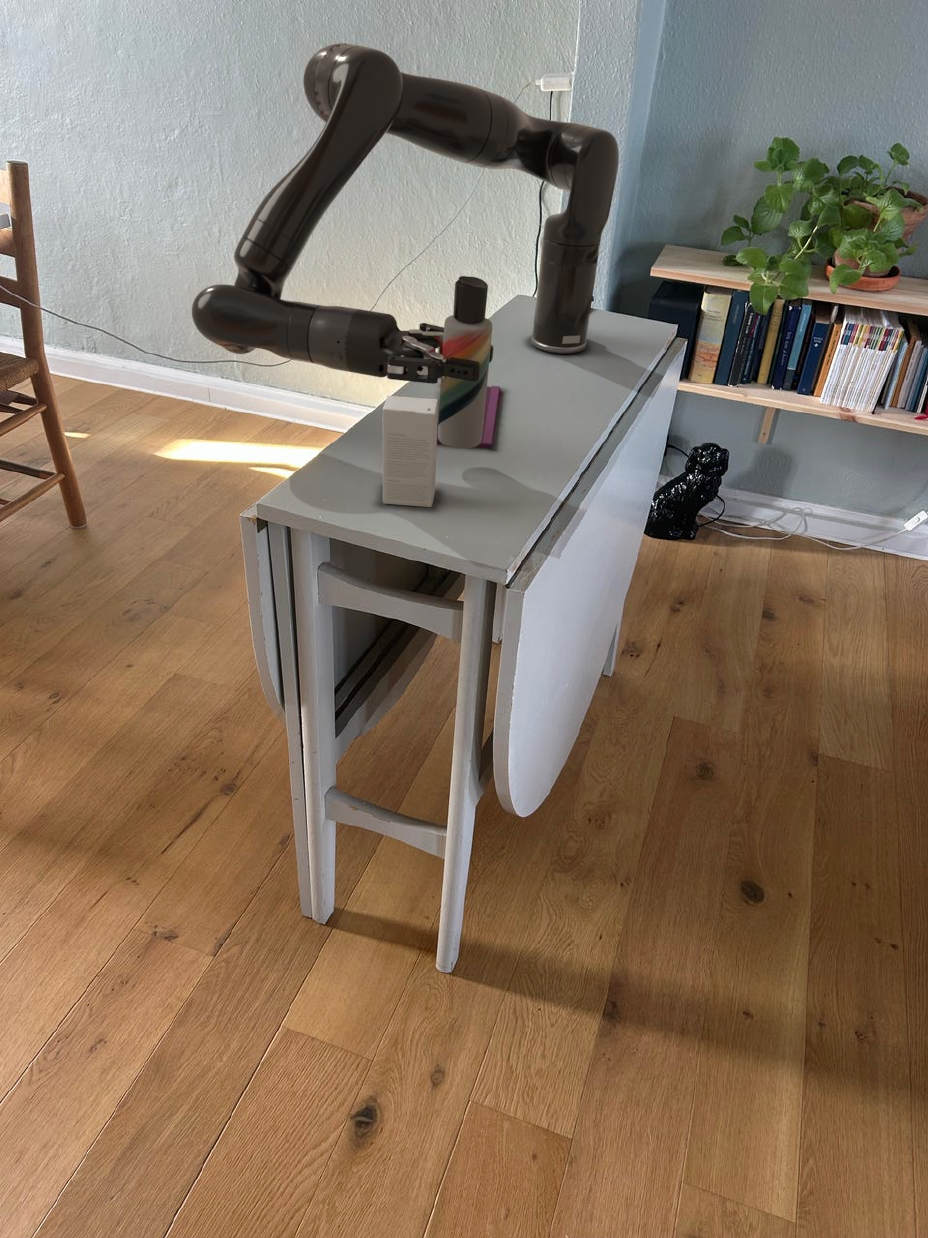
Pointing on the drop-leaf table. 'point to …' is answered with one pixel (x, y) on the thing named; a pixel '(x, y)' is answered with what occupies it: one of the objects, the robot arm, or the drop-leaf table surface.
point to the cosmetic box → (409, 450)
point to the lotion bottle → (471, 342)
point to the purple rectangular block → (488, 417)
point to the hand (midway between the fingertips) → (485, 362)
